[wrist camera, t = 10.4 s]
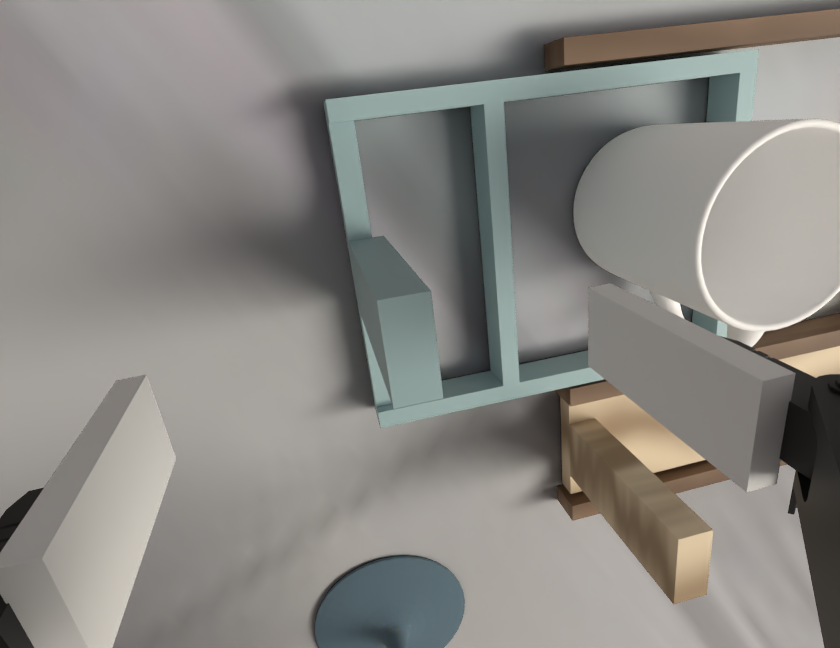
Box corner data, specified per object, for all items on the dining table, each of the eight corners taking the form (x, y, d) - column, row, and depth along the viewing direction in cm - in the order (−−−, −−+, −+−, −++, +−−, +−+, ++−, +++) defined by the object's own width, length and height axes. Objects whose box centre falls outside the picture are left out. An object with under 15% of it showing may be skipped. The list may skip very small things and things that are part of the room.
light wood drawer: (560, 395, 34) (680, 513, 23) (849, 331, 38) (1068, 408, 27) (562, 483, 37) (672, 626, 26) (833, 415, 40) (1028, 517, 29)
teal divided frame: (323, 102, 26) (341, 75, 15) (726, 55, 29) (988, 4, 18) (375, 409, 32) (416, 555, 21) (703, 339, 35) (888, 431, 24)
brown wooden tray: (544, 45, 27) (564, 37, 25) (924, 4, 31) (968, -5, 29) (557, 499, 37) (572, 520, 35) (842, 427, 41) (870, 442, 39)
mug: (584, 339, 34) (703, 423, 24) (557, 147, 29) (690, 152, 19) (704, 299, 34) (866, 364, 25) (696, 107, 30) (890, 93, 20)
